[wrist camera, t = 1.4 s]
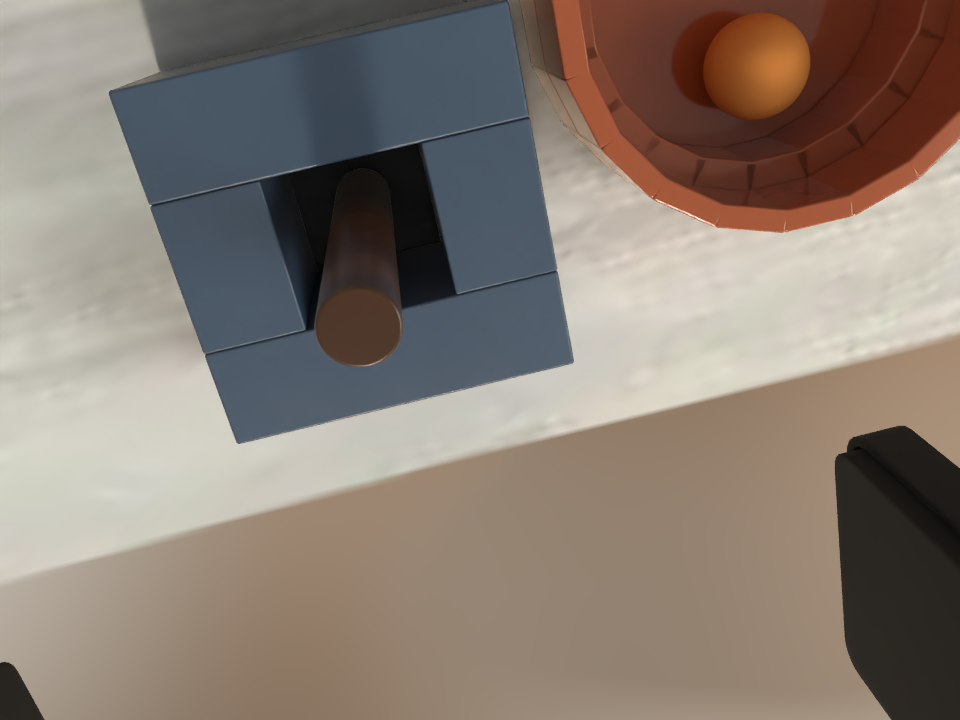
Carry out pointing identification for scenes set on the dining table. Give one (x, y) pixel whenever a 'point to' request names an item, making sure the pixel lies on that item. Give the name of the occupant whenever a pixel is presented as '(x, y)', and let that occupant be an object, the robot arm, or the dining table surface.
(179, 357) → the dining table surface
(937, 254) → the dining table surface
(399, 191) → the dining table surface
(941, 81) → the bowl
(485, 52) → the holder
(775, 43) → the ball
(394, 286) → the stick
